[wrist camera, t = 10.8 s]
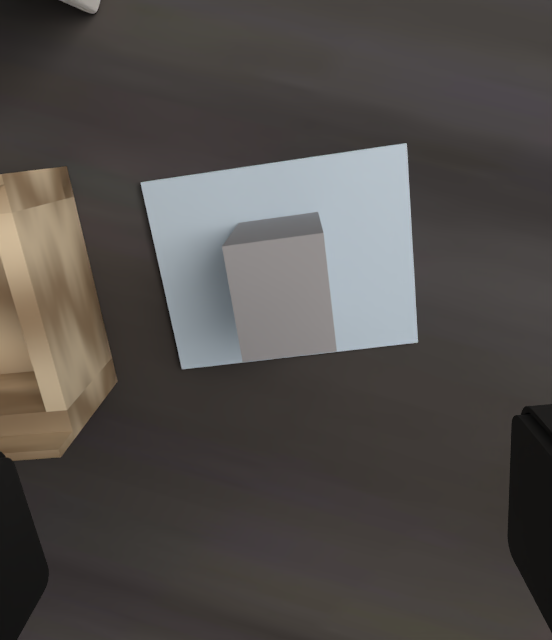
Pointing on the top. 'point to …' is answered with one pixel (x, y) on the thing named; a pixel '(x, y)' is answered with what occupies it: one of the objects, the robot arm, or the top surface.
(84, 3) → the ink box
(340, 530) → the top surface
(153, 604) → the top surface
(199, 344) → the cover plate
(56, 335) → the beech box
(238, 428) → the top surface
